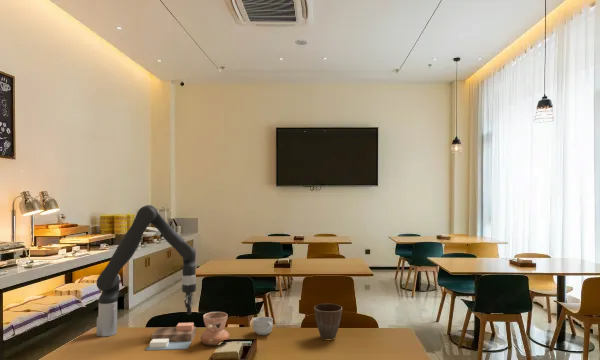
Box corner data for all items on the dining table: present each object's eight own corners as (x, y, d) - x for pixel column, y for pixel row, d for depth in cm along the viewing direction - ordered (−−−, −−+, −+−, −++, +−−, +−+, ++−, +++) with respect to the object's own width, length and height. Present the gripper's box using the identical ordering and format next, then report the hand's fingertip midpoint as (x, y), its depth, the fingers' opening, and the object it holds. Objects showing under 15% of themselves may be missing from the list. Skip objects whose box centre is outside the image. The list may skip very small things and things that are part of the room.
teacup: (250, 331, 223) (250, 317, 224) (268, 329, 228) (268, 314, 228) (258, 339, 211) (258, 324, 211) (278, 336, 215) (278, 321, 216)
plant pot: (347, 340, 210) (347, 309, 210) (321, 344, 204) (321, 312, 205) (334, 331, 223) (334, 302, 224) (309, 335, 218) (309, 305, 219)
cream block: (152, 338, 204) (152, 344, 203) (149, 342, 199) (149, 347, 198) (169, 338, 204) (169, 343, 204) (166, 342, 199) (166, 347, 199)
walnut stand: (151, 343, 206) (151, 335, 206) (158, 334, 218) (158, 327, 218) (191, 342, 208) (191, 334, 208) (195, 334, 219) (195, 326, 220)
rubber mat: (145, 350, 196) (145, 349, 196) (151, 343, 206) (151, 342, 206) (187, 349, 198) (187, 348, 198) (191, 342, 207) (191, 341, 207)
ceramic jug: (222, 349, 197) (223, 320, 198) (194, 347, 199) (195, 318, 200) (234, 337, 215) (235, 310, 216) (208, 336, 217) (209, 309, 218)
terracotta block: (176, 330, 213) (176, 325, 213) (178, 327, 218) (178, 322, 218) (191, 330, 214) (191, 325, 214) (193, 327, 219) (193, 322, 219)
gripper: (184, 280, 232) (184, 311, 231) (179, 285, 219) (179, 318, 218) (198, 280, 232) (198, 310, 232) (193, 285, 219) (193, 317, 219)
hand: (189, 314), depth 225 cm, fingers closed
